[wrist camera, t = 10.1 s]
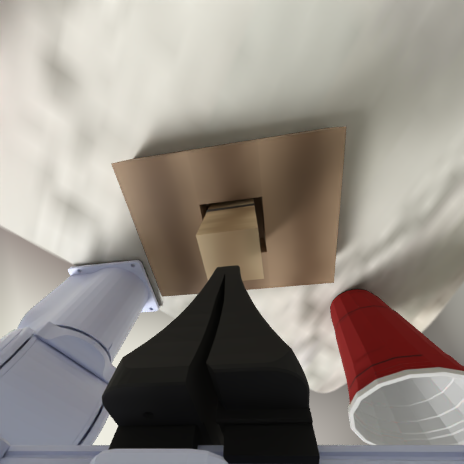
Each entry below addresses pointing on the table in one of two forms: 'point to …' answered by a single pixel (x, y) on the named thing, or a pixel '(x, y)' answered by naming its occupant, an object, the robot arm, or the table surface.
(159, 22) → the table surface
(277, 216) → the walnut socket block
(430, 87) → the table surface
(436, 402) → the plastic cup
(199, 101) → the table surface
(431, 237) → the table surface
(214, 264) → the oak peg
